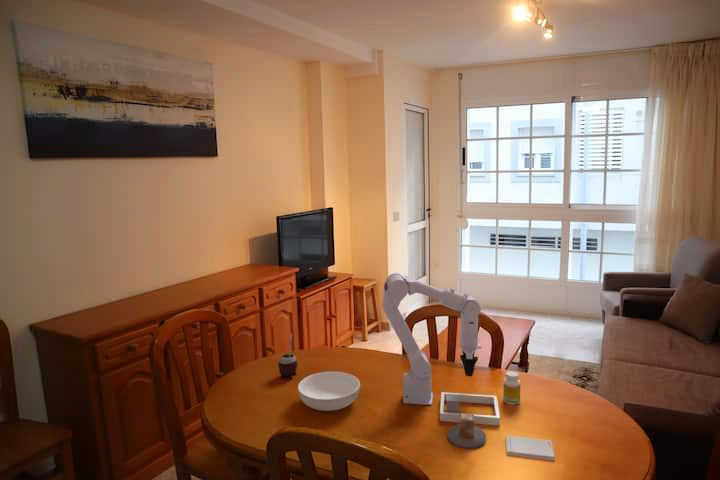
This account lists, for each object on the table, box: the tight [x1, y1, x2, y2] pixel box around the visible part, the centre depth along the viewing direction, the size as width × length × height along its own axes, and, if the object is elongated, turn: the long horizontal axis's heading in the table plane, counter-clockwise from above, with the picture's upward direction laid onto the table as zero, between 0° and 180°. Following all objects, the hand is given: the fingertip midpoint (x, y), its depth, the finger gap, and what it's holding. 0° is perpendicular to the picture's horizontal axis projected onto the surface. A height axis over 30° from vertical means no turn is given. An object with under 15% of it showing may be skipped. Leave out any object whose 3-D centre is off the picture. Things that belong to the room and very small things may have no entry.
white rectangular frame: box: [439, 391, 501, 426], centre depth 157 cm, size 18×14×2 cm
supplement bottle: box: [502, 370, 521, 406], centre depth 163 cm, size 5×5×10 cm
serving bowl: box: [297, 371, 361, 412], centre depth 165 cm, size 21×21×7 cm
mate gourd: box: [278, 333, 298, 380], centre depth 186 cm, size 8×8×15 cm
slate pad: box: [446, 423, 487, 450], centre depth 143 cm, size 11×11×1 cm
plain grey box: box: [446, 394, 461, 413], centre depth 156 cm, size 4×4×6 cm
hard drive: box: [505, 435, 556, 461], centre depth 137 cm, size 2×8×12 cm
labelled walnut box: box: [459, 412, 475, 439], centre depth 143 cm, size 4×4×6 cm
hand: (468, 370), depth 166 cm, fingers open, 7 cm apart
